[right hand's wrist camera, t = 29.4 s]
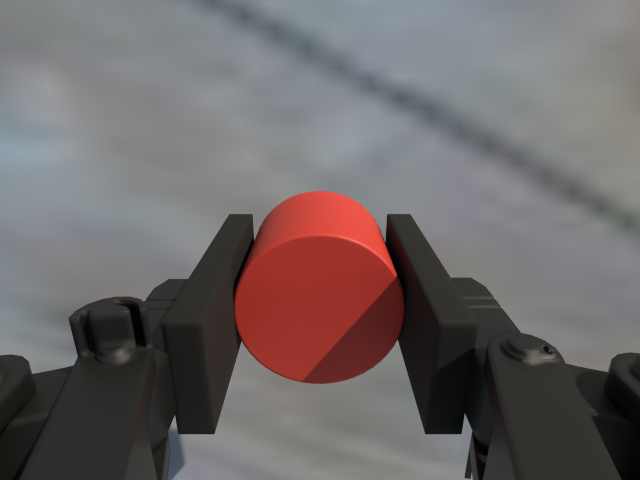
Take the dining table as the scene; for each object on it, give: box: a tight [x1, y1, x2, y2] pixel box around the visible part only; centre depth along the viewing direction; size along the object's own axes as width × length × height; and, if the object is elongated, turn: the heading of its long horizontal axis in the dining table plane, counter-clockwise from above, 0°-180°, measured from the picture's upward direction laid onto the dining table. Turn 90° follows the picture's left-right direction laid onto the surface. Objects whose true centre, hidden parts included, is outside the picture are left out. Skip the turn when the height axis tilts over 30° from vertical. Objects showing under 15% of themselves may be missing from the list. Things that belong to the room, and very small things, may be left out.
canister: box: [234, 191, 405, 384], centre depth 13 cm, size 4×4×4 cm
